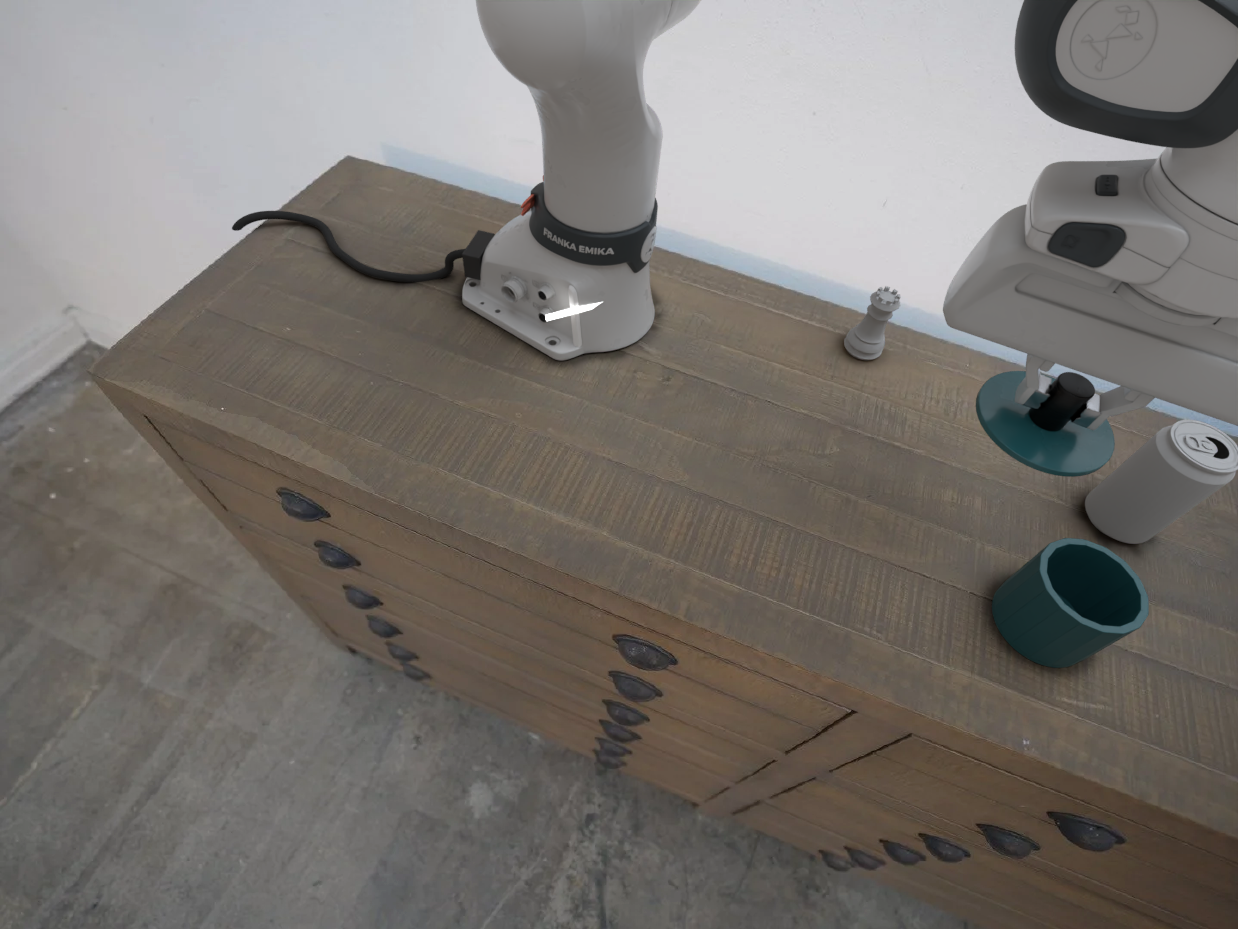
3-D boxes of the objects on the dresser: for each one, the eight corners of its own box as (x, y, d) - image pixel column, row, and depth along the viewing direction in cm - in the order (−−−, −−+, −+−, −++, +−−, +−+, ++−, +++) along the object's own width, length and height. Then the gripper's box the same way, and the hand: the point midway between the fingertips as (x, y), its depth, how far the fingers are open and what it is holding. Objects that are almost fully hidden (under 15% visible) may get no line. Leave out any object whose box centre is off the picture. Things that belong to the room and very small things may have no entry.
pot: (986, 642, 58) (1036, 604, 52) (997, 565, 62) (1043, 523, 56) (1086, 684, 56) (1149, 651, 50) (1089, 603, 61) (1148, 563, 55)
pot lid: (962, 449, 47) (997, 405, 43) (979, 364, 52) (1012, 318, 48) (1103, 502, 45) (1152, 461, 41) (1106, 408, 50) (1150, 365, 46)
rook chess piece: (883, 341, 79) (911, 287, 73) (878, 367, 77) (907, 312, 70) (845, 330, 80) (870, 275, 74) (839, 355, 77) (865, 300, 71)
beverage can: (1155, 554, 64) (1261, 482, 55) (1086, 539, 65) (1179, 465, 55) (1139, 499, 68) (1235, 423, 58) (1074, 486, 68) (1158, 408, 59)
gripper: (1417, 270, 35) (1211, 435, 46) (1019, 155, 39) (917, 332, 50) (1449, 344, 32) (1217, 503, 43) (1008, 209, 36) (901, 387, 47)
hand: (1052, 410), depth 47 cm, fingers closed on pot lid, 2 cm apart
